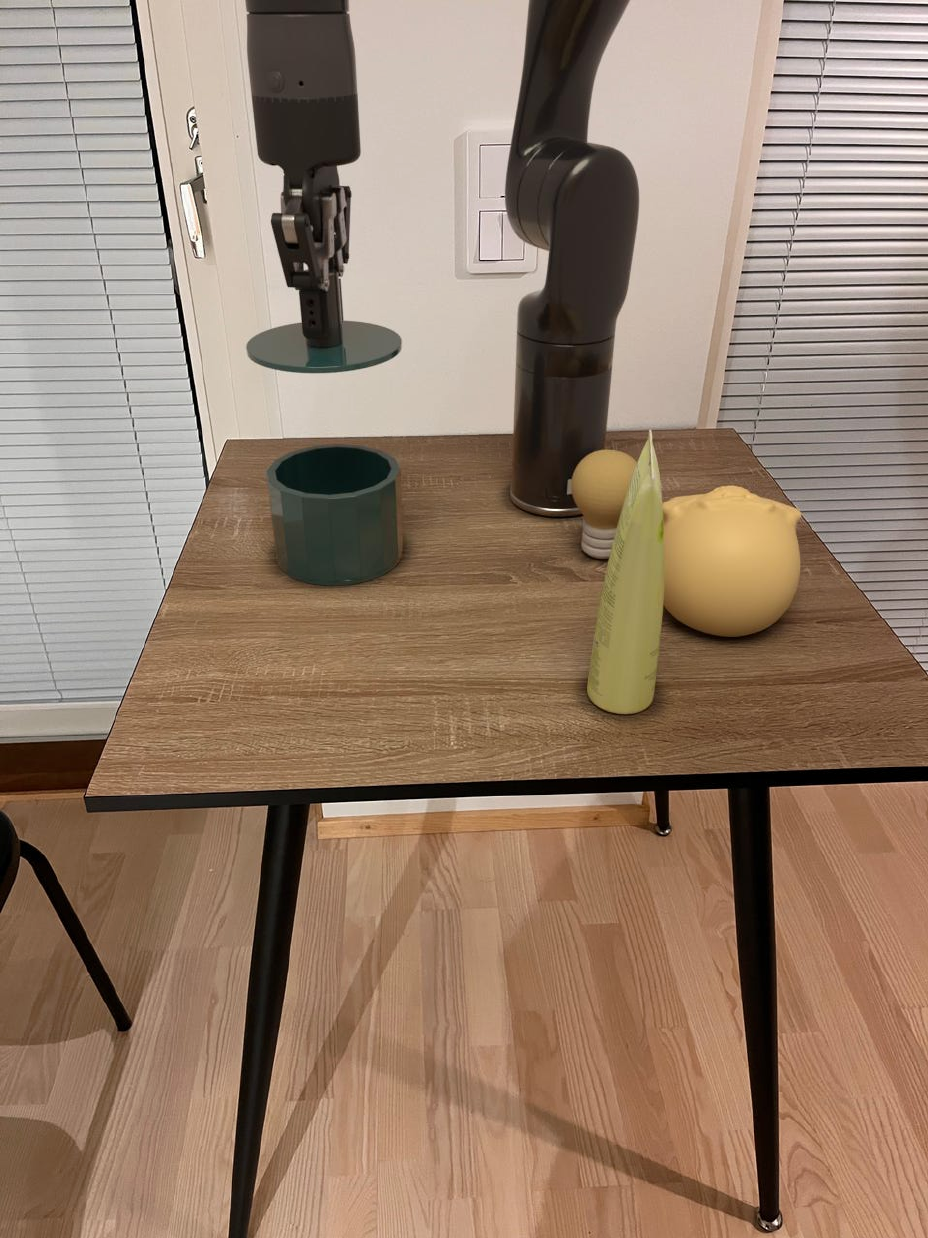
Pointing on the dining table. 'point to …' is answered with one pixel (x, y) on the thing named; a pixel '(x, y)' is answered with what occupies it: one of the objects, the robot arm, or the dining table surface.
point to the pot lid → (325, 343)
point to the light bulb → (601, 497)
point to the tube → (632, 598)
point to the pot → (336, 513)
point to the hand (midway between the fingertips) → (323, 330)
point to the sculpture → (729, 560)
